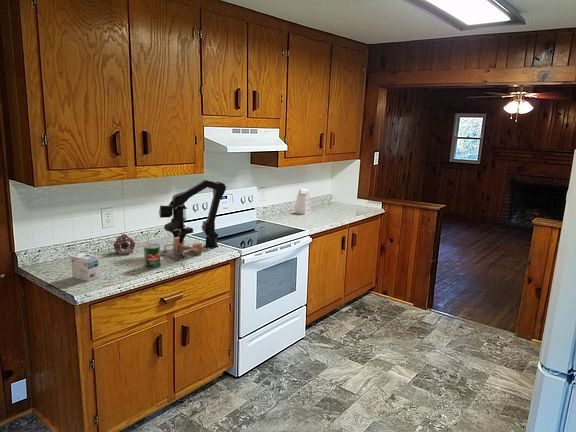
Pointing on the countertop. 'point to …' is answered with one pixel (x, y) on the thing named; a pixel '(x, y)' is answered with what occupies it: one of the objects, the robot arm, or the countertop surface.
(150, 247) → the canned tomato
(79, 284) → the countertop surface
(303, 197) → the grater
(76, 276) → the light bulb box
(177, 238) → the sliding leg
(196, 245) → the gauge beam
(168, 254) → the flange plate
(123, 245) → the maroon piece
